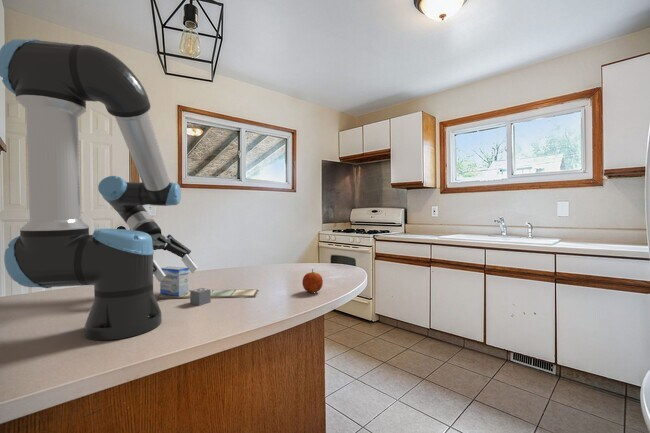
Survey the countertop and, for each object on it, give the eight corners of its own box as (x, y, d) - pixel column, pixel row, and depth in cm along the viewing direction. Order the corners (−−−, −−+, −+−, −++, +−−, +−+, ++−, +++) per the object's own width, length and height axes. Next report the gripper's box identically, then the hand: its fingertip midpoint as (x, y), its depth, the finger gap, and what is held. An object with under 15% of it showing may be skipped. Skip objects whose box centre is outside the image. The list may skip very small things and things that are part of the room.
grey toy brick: (210, 302, 91) (210, 289, 91) (199, 306, 88) (199, 292, 88) (201, 300, 93) (201, 287, 93) (190, 304, 90) (190, 290, 90)
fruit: (319, 296, 98) (319, 271, 98) (299, 294, 100) (299, 270, 100) (324, 290, 105) (324, 267, 105) (305, 289, 107) (305, 267, 107)
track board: (259, 289, 106) (259, 288, 106) (255, 297, 97) (255, 296, 97) (168, 291, 103) (168, 290, 103) (155, 299, 94) (155, 297, 94)
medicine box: (159, 294, 98) (159, 268, 98) (170, 291, 102) (170, 265, 102) (179, 296, 96) (178, 269, 96) (189, 293, 100) (189, 267, 100)
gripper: (168, 232, 116) (200, 274, 111) (102, 238, 92) (139, 291, 88) (178, 219, 114) (211, 260, 110) (114, 221, 90) (153, 274, 86)
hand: (179, 274), depth 99 cm, fingers open, 13 cm apart
